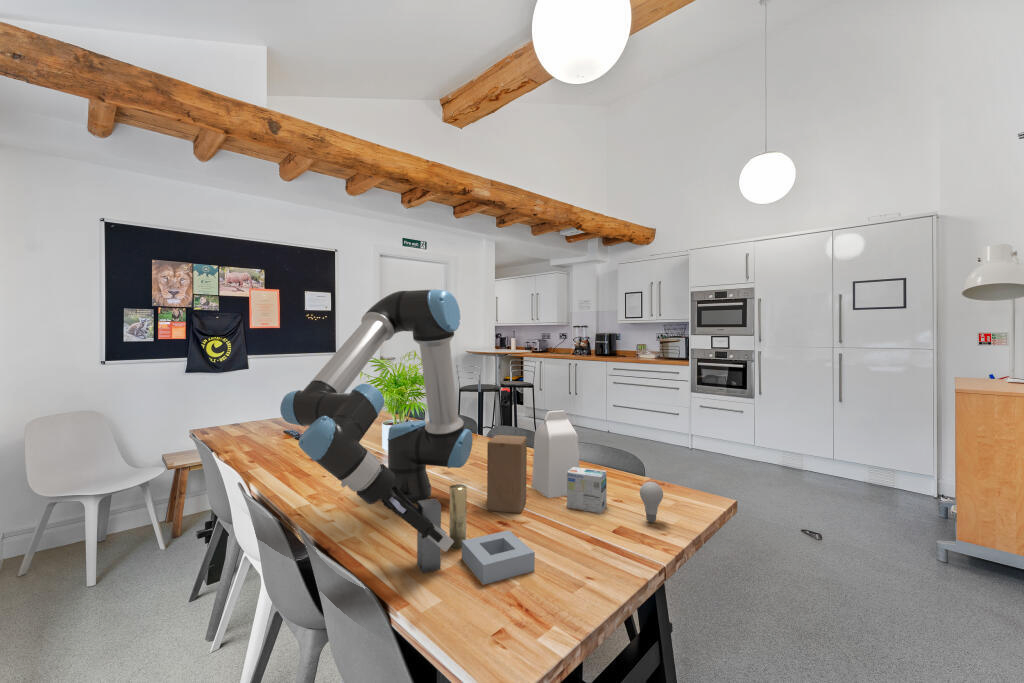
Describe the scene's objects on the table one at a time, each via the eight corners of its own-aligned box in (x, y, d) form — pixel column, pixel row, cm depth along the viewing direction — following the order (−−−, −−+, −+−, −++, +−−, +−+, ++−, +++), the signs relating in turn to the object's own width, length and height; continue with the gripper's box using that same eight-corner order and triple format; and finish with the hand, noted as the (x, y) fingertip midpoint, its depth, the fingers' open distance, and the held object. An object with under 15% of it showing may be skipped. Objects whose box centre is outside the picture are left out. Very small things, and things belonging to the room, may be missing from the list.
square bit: (422, 573, 92) (422, 507, 92) (417, 564, 95) (417, 501, 95) (440, 569, 94) (440, 504, 94) (434, 560, 97) (435, 498, 97)
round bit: (445, 546, 104) (446, 487, 104) (457, 540, 107) (458, 483, 107) (457, 551, 102) (458, 491, 102) (469, 544, 105) (470, 486, 105)
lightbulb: (651, 528, 114) (651, 487, 114) (634, 520, 120) (634, 480, 120) (667, 524, 117) (668, 483, 117) (651, 516, 123) (651, 477, 123)
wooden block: (520, 514, 124) (521, 443, 124) (486, 510, 126) (487, 441, 126) (526, 501, 134) (527, 436, 133) (494, 498, 136) (495, 434, 135)
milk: (548, 498, 136) (548, 415, 136) (531, 486, 147) (532, 409, 147) (580, 493, 141) (581, 412, 141) (562, 482, 152) (563, 407, 152)
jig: (483, 584, 88) (483, 565, 88) (461, 558, 98) (461, 540, 98) (534, 570, 93) (534, 552, 93) (508, 546, 104) (508, 530, 104)
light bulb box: (607, 506, 130) (607, 470, 130) (601, 514, 124) (602, 476, 124) (572, 500, 135) (572, 465, 135) (565, 508, 128) (566, 471, 128)
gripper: (349, 480, 95) (422, 540, 103) (361, 507, 80) (447, 575, 88) (374, 453, 97) (444, 513, 105) (391, 474, 82) (471, 543, 90)
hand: (445, 541), depth 96 cm, fingers closed on square bit, 4 cm apart
